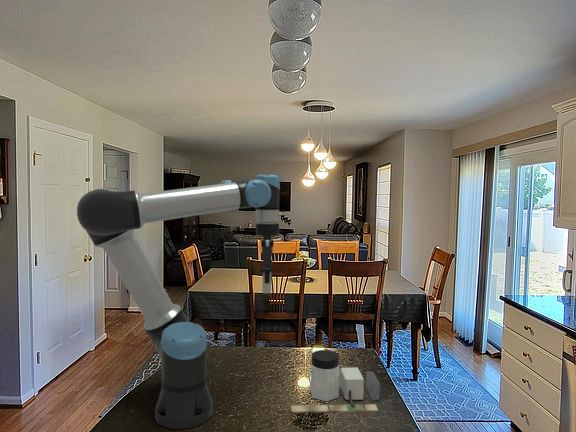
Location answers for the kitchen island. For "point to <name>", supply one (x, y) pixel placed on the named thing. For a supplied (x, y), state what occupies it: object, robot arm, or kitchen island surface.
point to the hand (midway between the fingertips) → (266, 287)
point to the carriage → (351, 384)
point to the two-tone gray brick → (373, 385)
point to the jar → (325, 375)
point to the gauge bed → (333, 408)
